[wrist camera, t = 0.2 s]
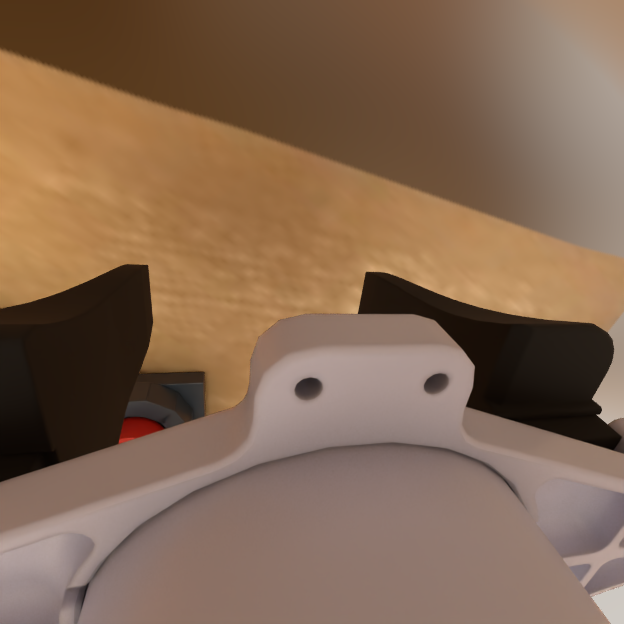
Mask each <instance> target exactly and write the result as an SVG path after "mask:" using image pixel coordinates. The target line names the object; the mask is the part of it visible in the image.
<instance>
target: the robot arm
mask: <svg viewBox="0 0 624 624" xmlns="http://www.w3.org/2000/svg"><path fill="white" fill-rule="evenodd" d="M152 326H153V316H152V304H151V293H150V281H149V270H148V265H132V264H126V265H122V266H120V267H117V268H115V269H113V270H111V271H109V272H106V273H104V274H102V275H100V276H98V277H96V278H94V279H92V280H90V281H87V282H85V283H83V284H80V285H78V286H75V287H73V288H71V289H68V290H66V291H63V292H61V293H58V294H55V295H52V296H49V297H46V298H43V299H39V300H36V301H33V302H29V303H25V304H21V305H16V306H12V307H7V308H3V309H0V624H610V622H609V621H608V619H607V618H606V617H605V615H604V614H603V613H602V611H601V610H600V609H599V607H598V606H597V605H596V603H595V602H594V600H593V599H592V598H591V597H592V596H595V595H597V594H600V593H603V592H606V591H609V590H611V589H614V588H617V587H620V586H623V585H624V418H620V419H617V420H614V421H612V422H611V423H609V424H606V423H605V422H604V421H603V420H602V419H600V418H599V417H598V416H597V414H600V413H601V411H602V408H601V406H599V405H598V404H597V403H596V402H594V401H593V400H592V398H593V396H594V394H595V393H596V391H597V389H598V387H599V385H600V384H601V382H602V380H603V378H604V377H605V375H606V373H607V371H608V369H609V367H610V365H611V363H612V359H613V354H614V346H613V340H612V338H611V337H610V336H609V334H608V333H607V332H606V331H604V330H602V329H601V328H599V327H598V326H596V325H595V324H592V323H580V322H567V321H554V320H544V319H536V318H529V317H522V316H516V315H511V314H506V313H501V312H496V311H492V310H487V309H483V308H479V307H476V306H473V305H469V304H466V303H462V302H459V301H456V300H453V299H451V298H448V297H445V296H443V295H440V294H437V293H435V292H432V291H430V290H428V289H425V288H423V287H420V286H418V285H416V284H413V283H411V282H409V281H406V280H404V279H402V278H399V277H397V276H394V275H391V274H388V273H383V272H366V274H365V280H364V285H363V290H362V295H361V301H360V306H359V311H358V314H303V315H299V316H295V317H290V318H286V319H282V320H279V321H278V322H277V323H275V324H274V325H273V326H272V327H270V328H269V329H268V330H267V331H265V332H264V333H263V334H262V335H261V336H259V338H258V340H257V343H256V346H255V349H254V351H253V354H252V357H251V360H250V381H249V387H248V392H247V394H246V396H245V398H244V399H243V400H242V401H241V402H240V403H239V404H238V405H236V406H235V407H232V408H229V409H226V410H223V411H220V412H217V413H214V414H210V415H207V416H204V417H201V418H198V419H195V420H192V421H189V422H186V423H183V424H179V425H176V426H173V427H170V428H167V429H164V430H161V431H158V432H155V433H151V434H148V435H145V436H142V437H139V438H136V439H133V440H130V441H127V442H124V443H120V444H119V439H120V435H121V430H122V426H123V421H124V417H125V413H126V409H127V406H128V402H129V399H130V396H131V394H132V391H133V388H134V385H135V383H136V380H137V377H138V375H139V372H140V369H141V367H142V364H143V361H144V358H145V355H146V353H147V350H148V347H149V342H150V337H151V332H152Z"/></svg>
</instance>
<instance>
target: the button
mask: <svg viewBox="0 0 624 624" xmlns="http://www.w3.org/2000/svg"><path fill="white" fill-rule="evenodd" d="M161 430H164V428H163V427H162V426H161V425H160V424H159V423H157V422H156V421H154V420H151V419H148V418H143V417H130V418H125V419H124V421H123V426H122V430H121V435H120V439H119V444H120V443H124V442H127V441H130V440H133V439H136V438H139V437H142V436H145V435H148V434H151V433H155V432H158V431H161Z"/></svg>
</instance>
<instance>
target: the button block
mask: <svg viewBox="0 0 624 624" xmlns="http://www.w3.org/2000/svg"><path fill="white" fill-rule="evenodd" d="M204 416H205V375H204V372H187V373H155V374H139V375H138V377H137V380H136V383H135V385H134V388H133V391H132V394H131V396H130V399H129V402H128V406H127V409H126V413H125V417H124V419H125V418H130V417H143V418H148V419H151V420H154V421H156V422H157V423H159V424H160V425H161V426H162V427H163V428H164V429H167V428H170V427H173V426H176V425H179V424H183V423H186V422H189V421H192V420H195V419H198V418H201V417H204Z"/></svg>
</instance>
